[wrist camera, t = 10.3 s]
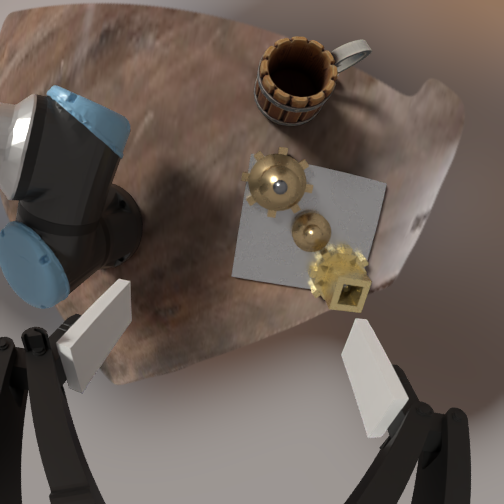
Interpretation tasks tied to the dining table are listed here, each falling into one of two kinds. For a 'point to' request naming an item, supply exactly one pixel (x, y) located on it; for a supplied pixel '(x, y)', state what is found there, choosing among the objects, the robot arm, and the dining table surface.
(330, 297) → the gear
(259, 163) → the carrier
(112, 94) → the dining table surface
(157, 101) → the dining table surface
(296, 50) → the mug
